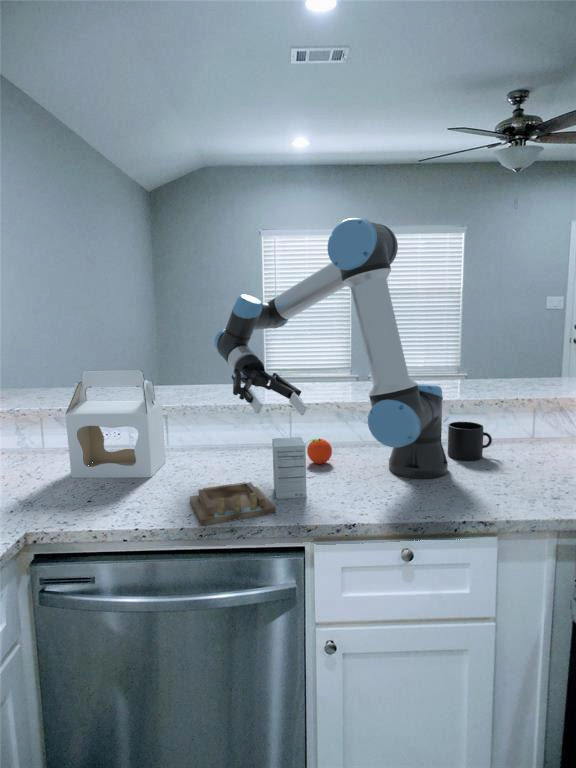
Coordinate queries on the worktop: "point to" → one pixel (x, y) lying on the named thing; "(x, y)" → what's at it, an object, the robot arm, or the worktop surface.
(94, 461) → the gable box
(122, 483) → the worktop surface
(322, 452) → the clementine
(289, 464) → the supplement box
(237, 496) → the brown shallow tray
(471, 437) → the mug
